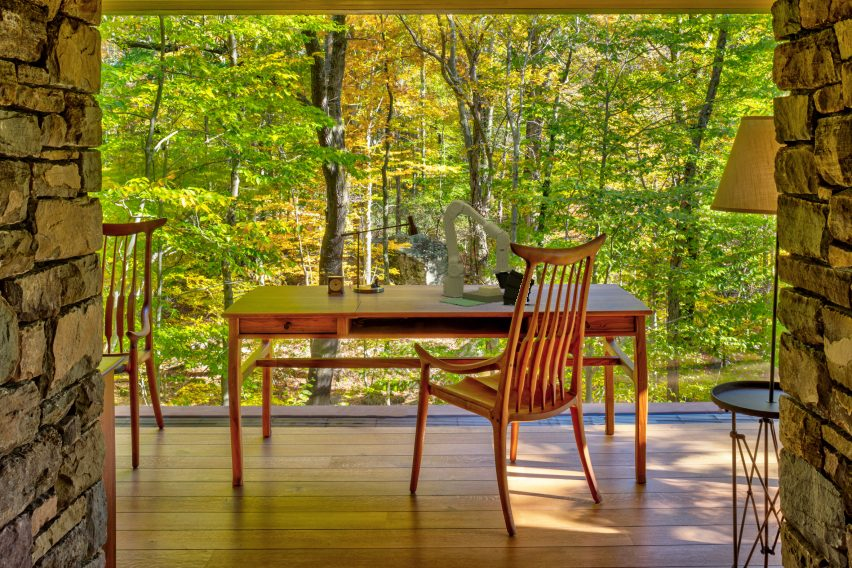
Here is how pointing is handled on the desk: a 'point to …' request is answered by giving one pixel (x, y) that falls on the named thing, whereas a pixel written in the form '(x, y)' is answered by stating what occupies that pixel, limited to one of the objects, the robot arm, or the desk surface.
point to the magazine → (514, 287)
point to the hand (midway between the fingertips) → (502, 288)
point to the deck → (483, 297)
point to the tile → (489, 289)
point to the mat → (463, 302)
